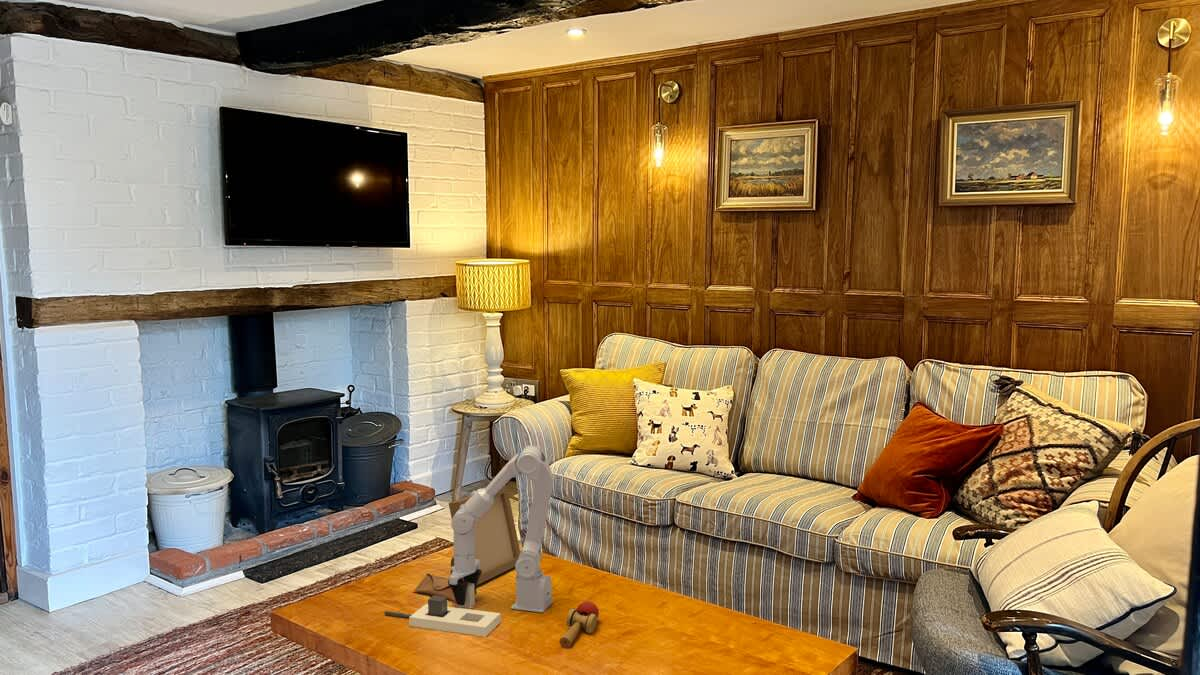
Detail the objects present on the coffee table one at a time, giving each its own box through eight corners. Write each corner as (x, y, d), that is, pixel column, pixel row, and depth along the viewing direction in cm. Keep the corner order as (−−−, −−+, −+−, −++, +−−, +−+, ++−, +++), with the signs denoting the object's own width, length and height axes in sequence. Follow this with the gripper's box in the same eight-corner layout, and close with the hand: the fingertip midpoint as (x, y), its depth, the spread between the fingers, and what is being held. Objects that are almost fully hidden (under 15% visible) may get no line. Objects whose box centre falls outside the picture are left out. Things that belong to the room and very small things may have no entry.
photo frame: (522, 565, 273) (520, 487, 271) (476, 588, 255) (473, 504, 252) (486, 557, 281) (484, 480, 279) (438, 578, 263) (435, 497, 261)
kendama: (583, 655, 216) (607, 617, 232) (577, 632, 215) (602, 595, 231) (554, 656, 219) (581, 617, 235) (548, 633, 217) (575, 596, 234)
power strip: (500, 622, 232) (500, 598, 231) (485, 636, 223) (485, 612, 223) (394, 608, 242) (393, 585, 241) (376, 621, 233) (375, 597, 233)
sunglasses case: (408, 592, 252) (415, 569, 255) (422, 597, 258) (429, 574, 260) (459, 604, 244) (466, 579, 246) (472, 608, 250) (479, 585, 252)
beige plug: (474, 604, 244) (474, 583, 243) (469, 608, 241) (469, 587, 241) (461, 602, 245) (461, 581, 245) (456, 606, 242) (456, 585, 242)
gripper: (463, 542, 250) (464, 589, 251) (438, 560, 236) (440, 608, 237) (486, 545, 248) (487, 591, 249) (462, 562, 234) (463, 612, 235)
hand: (465, 600), depth 243 cm, fingers open, 5 cm apart
